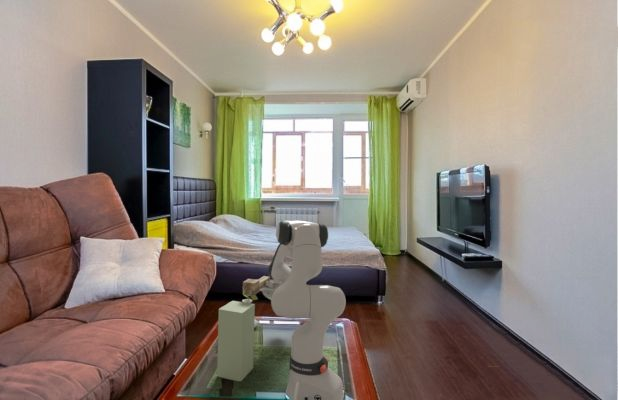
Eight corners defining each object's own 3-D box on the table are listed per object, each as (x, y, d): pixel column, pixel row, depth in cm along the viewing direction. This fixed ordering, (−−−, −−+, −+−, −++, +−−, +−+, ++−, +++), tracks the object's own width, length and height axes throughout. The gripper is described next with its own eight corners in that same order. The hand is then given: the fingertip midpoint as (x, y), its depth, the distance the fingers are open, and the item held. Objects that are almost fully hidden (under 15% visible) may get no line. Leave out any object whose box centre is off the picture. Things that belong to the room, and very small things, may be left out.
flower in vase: (230, 327, 171) (231, 279, 170) (246, 320, 180) (247, 274, 179) (248, 335, 163) (249, 284, 162) (264, 327, 173) (266, 279, 172)
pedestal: (253, 368, 134) (254, 304, 133) (240, 381, 125) (242, 313, 124) (230, 363, 137) (232, 300, 136) (217, 376, 128) (218, 309, 127)
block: (271, 283, 155) (272, 272, 155) (253, 295, 138) (254, 283, 137) (261, 282, 156) (262, 271, 156) (242, 293, 139) (243, 281, 139)
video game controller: (303, 338, 166) (310, 326, 165) (295, 333, 166) (302, 321, 165) (307, 329, 175) (313, 318, 174) (299, 325, 176) (305, 313, 175)
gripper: (254, 280, 166) (242, 272, 155) (292, 285, 160) (283, 277, 148) (250, 293, 164) (238, 286, 152) (290, 298, 157) (280, 291, 146)
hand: (261, 281), depth 150 cm, fingers closed on block, 3 cm apart
